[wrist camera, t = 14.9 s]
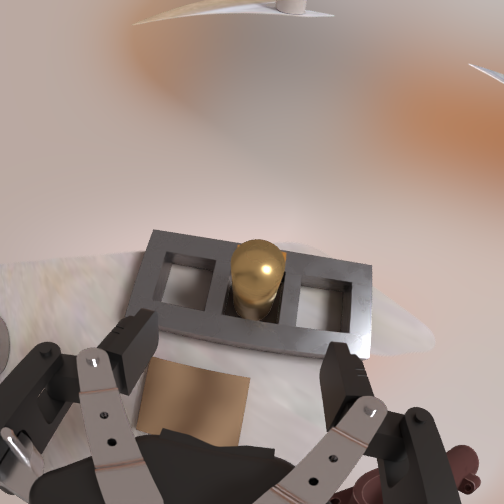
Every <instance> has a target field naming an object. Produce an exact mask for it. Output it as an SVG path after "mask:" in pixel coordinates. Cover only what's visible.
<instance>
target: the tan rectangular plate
mask: <svg viewBox="0 0 504 504" xmlns="http://www.w3.org/2000/svg"><path fill="white" fill-rule="evenodd" d="M249 383H250V378H247V377H241V376H236V375H230V374H225V373H220V372H215V371H210V370H205V369H201V368H196V367H192V366H187V365H183V364H179V363H175V362H171V361H167V360H163V359H159V358H156V357H152V358H151V359H150V363H149V367H148V372H147V376H146V381H145V386H144V390H143V395H142V400H141V405H140V411H139V416H138V422H137V427H136V429H137V430H140V431H143V432H146V433H149V434H152V435H160V433H161V431H162V428H165V429H169V430H172V431H176V432H180V433H184V434H188V435H191V436H193V437H195V438H198V439H200V440H202V441H204V442H207V443H209V444H211V445H214V446H219V447H223V446H238V443H239V437H240V432H241V427H242V421H243V416H244V410H245V405H246V399H247V394H248V388H249Z"/></svg>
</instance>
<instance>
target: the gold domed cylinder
mask: <svg viewBox="0 0 504 504" xmlns="http://www.w3.org/2000/svg"><path fill="white" fill-rule="evenodd" d="M284 271H285V259H284V256H283V254H282V252H281V251H280V249H279V248H278V247H277V246H275V245H274V244H272V243H271V242H268V241H265V240H260V239H258V240H256V239H255V240H249V241H246V242H244V243H242V244H241V245H240V246H238V247H237V249H236V250H235V251H234V253H233V255H232V258H231V275H232V288H233V301H234V308H235V311H236V312H237V314H238V315H239V316H240V317H241V318H243V319H249V320H255V321H258V320H261V319H263V318H264V317H266V316H267V315H268V313H269V312H270V310H271V307H272V304H273V302H274V299H275V296H276V293H277V291H278V288H279V285H280V282H281V279H282V277H283V274H284Z"/></svg>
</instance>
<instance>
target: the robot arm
mask: <svg viewBox="0 0 504 504" xmlns="http://www.w3.org/2000/svg"><path fill="white" fill-rule="evenodd" d="M158 340H159V334H158V313H157V311H153V310H149V309H145V308H141V309H140V310H139V311H138V312H137V313H136V315H135V316H128V317H126V318H124V319H122V320H121V321H120V322H119V323H118V324H117V325H116V327H114V328H113V330H112V332H110V333H109V334H108V335H107V336H106V338H105V339H104V340H103V341H102V342H101V343H100V344H99V346H98V347H97V348H87V349H84V350H82V351H81V352H80V353H79V354H78V355H77V356H74V355H66V354H61V350H60V347H59V346H58V345H57V344H55V343H52V342H43V343H40V344H38V345H36V346H35V347H34V348H33V349H32V350H31V351H30V352H29V353H28V354H27V355H26V357H25V358H24V359H23V360H22V361H21V362H20V363H19V364H18V365H17V366H16V367H15V368H14V369H13V371H12V372H11V373H10V374H9V375H8V376H7V377H6V378H5V380H4V381H3V382H2V383H1V384H0V489H1V490H2V491H4V492H5V493H7V494H10V495H16V496H18V497H19V498H21V499H22V500H24V501H25V502H27V503H28V504H332V503H331V502H330V501H329V499H330V498H331V497H332V496H333V494H334V493H335V492H336V491H337V489H338V488H339V487H340V485H341V484H342V483H343V482H344V480H345V479H346V478H347V476H348V475H349V473H350V472H351V471H352V469H353V468H354V467H355V465H356V464H357V462H358V461H359V459H360V458H361V456H362V455H366V456H370V457H375V458H377V462H378V469H379V475H380V482H381V489H382V497H383V504H461V501H460V497H459V493H458V489H457V486H456V483H455V479H454V476H453V473H452V470H451V466H450V463H449V460H448V457H447V454H446V452H445V449H444V446H443V443H442V440H441V438H440V435H439V432H438V430H437V427H436V424H435V422H434V419H433V417H432V415H431V414H430V413H429V412H428V411H427V410H425V409H423V408H419V407H413V408H410V409H408V411H407V412H406V413H405V415H403V414H399V413H395V412H391V411H388V410H387V407H386V405H385V404H384V403H383V402H382V401H381V400H380V399H378V398H376V397H374V394H373V392H372V388H371V385H370V382H369V379H368V377H367V374H366V371H365V368H364V365H363V362H362V360H361V359H360V358H359V357H358V356H357V355H356V354H351V353H350V350H349V347H348V344H347V343H344V342H334V341H331V342H330V343H329V346H328V348H327V351H326V354H325V357H324V360H323V363H322V365H321V369H320V377H319V378H320V386H321V392H322V399H323V407H324V414H325V422H326V429H327V432H328V433H327V434H326V435H325V436H324V437H323V439H322V440H321V441H320V442H319V443H318V444H317V445H316V446H315V447H314V448H313V449H312V451H311V452H310V453H309V454H308V455H307V456H306V457H305V458H304V459H303V460H302V461H301V462H300V463H299V464H298V465H297V466H296V467H295V466H294V465H292V464H291V463H289V462H287V461H285V460H283V459H281V458H278V457H275V456H274V453H275V449H271V448H262V447H254V446H223V447H219V446H214V445H211V444H209V443H207V442H204V441H202V440H200V439H198V438H195V437H193V436H191V435H188V434H184V433H180V432H176V431H172V430H169V429H165V428H162V431H161V433H160V435H143V436H138V437H134V435H133V432H132V429H131V426H130V424H129V421H128V418H127V415H126V412H125V409H124V406H123V403H122V400H121V397H120V393H122V394H125V395H128V396H129V395H130V393H131V391H132V390H133V388H134V386H135V385H136V383H137V381H138V380H139V378H140V376H141V374H142V373H143V371H144V369H145V368H146V366H147V364H148V363H149V361H150V359H151V358H152V356H153V354H154V353H155V351H156V349H157V346H158ZM9 345H10V342H9V334H8V329H7V327H6V324H5V322H4V321H3V319H2V318H1V317H0V374H1V373H2V371H3V370H4V368H5V366H6V364H7V360H8V356H9ZM44 388H45V389H44ZM43 389H44V390H43ZM42 390H43V391H42ZM41 392H42V393H41ZM40 393H41V394H40ZM39 394H40V395H39ZM38 396H39V397H38ZM73 402H74V403H80V404H81V410H82V415H83V420H84V425H85V430H86V434H87V439H88V443H89V447H90V451H91V455H92V456H90V457H88V458H85V459H83V460H80V461H77V462H75V463H72V464H69V465H67V466H64V467H61V468H58V469H55V470H53V471H50V472H47V473H45V474H43V468H44V460H43V457H42V455H41V454H42V453H43V451H44V449H45V448H46V446H47V444H48V442H49V441H50V439H51V437H52V436H53V434H54V432H55V431H56V429H57V427H58V426H59V424H60V422H61V421H62V419H63V417H64V416H65V414H66V413H67V411H68V409H69V408H70V406H71V405H72V403H73Z"/></svg>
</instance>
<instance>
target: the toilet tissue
mask: <svg viewBox="0 0 504 504" xmlns="http://www.w3.org/2000/svg"><path fill="white" fill-rule="evenodd" d="M306 1H307V0H276V8H277V9H278V10H279V11H281V12H284V13H289V14H305V10H306Z"/></svg>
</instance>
